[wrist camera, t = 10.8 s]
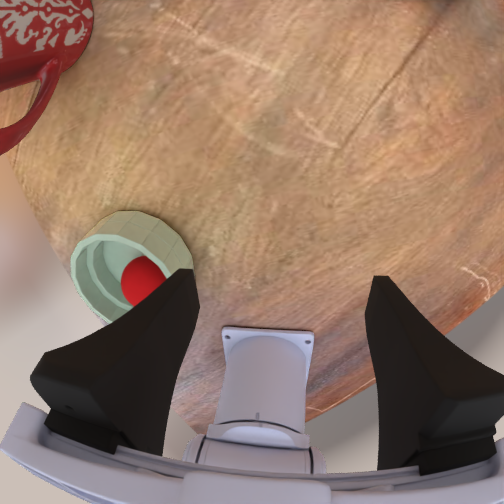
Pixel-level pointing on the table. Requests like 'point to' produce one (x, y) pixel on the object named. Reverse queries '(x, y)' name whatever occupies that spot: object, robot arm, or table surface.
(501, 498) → the robot arm
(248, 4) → the table surface
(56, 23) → the mug
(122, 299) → the bowl
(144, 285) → the tomato
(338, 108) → the table surface
